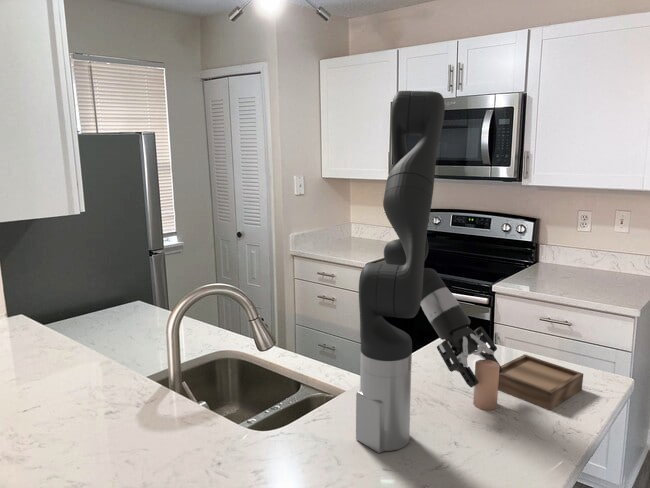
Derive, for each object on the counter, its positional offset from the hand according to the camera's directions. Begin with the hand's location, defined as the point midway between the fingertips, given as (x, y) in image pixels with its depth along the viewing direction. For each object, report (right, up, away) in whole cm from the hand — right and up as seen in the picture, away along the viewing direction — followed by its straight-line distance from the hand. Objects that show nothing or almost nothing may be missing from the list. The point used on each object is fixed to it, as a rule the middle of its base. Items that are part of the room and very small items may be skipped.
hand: (487, 379), depth 111 cm
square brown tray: (+13, -4, +8) cm, 16 cm away
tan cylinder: (0, -6, +1) cm, 6 cm away
